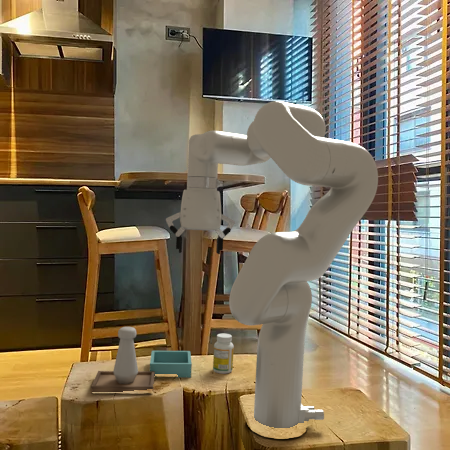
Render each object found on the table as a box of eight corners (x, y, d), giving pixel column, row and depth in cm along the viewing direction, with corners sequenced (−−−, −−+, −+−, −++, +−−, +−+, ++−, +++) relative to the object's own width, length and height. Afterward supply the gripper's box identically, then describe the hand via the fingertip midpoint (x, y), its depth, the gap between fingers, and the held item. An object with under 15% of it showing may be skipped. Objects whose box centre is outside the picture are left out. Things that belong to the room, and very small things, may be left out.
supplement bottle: (222, 375, 127) (223, 339, 127) (208, 369, 131) (210, 334, 131) (236, 371, 131) (238, 336, 130) (223, 365, 135) (224, 331, 134)
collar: (189, 363, 135) (190, 351, 135) (191, 377, 125) (191, 364, 125) (151, 363, 134) (151, 350, 134) (149, 377, 124) (149, 363, 123)
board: (154, 378, 123) (154, 371, 123) (152, 394, 113) (152, 386, 113) (98, 377, 122) (98, 370, 122) (91, 394, 112) (91, 386, 112)
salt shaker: (134, 386, 114) (136, 331, 114) (110, 384, 114) (112, 330, 114) (139, 377, 120) (141, 325, 119) (116, 376, 120) (118, 324, 120)
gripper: (234, 186, 126) (231, 252, 127) (167, 183, 124) (164, 250, 125) (238, 186, 119) (235, 255, 120) (167, 182, 117) (164, 253, 118)
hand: (199, 252), depth 122 cm, fingers open, 9 cm apart
